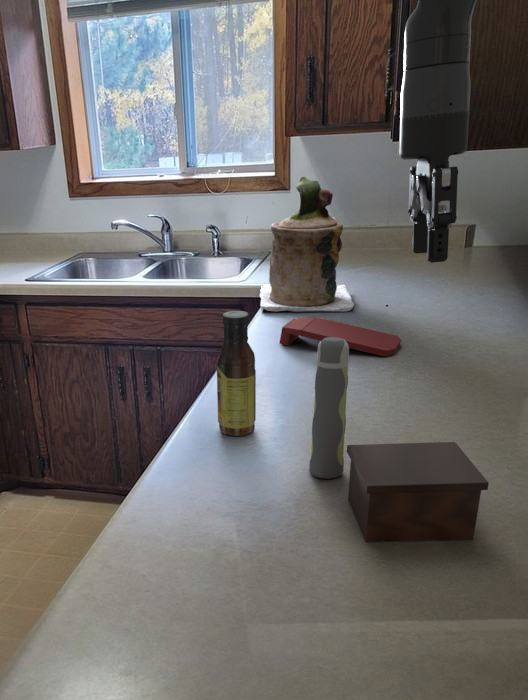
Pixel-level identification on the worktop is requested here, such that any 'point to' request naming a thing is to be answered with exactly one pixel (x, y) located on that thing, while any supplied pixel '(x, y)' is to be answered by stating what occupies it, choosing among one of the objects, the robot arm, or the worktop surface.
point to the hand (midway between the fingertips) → (428, 257)
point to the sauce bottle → (236, 377)
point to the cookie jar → (306, 257)
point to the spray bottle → (329, 409)
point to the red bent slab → (340, 335)
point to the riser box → (414, 491)
